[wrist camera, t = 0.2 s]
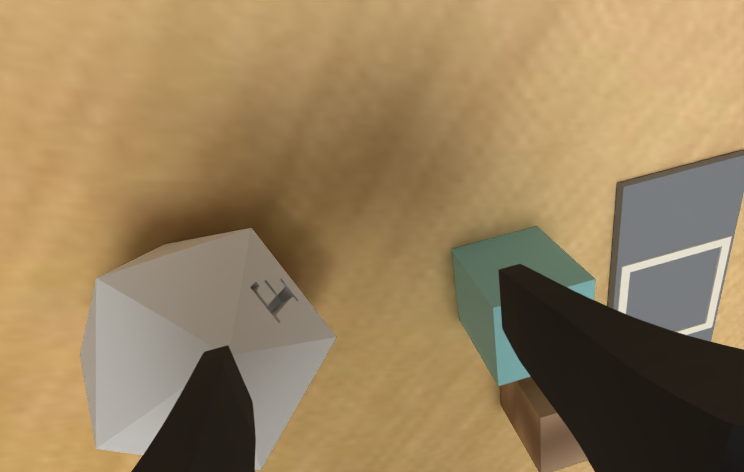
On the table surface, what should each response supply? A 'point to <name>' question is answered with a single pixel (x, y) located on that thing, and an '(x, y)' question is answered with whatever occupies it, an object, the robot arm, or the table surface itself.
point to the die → (197, 337)
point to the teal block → (483, 292)
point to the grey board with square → (676, 243)
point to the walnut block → (539, 426)
